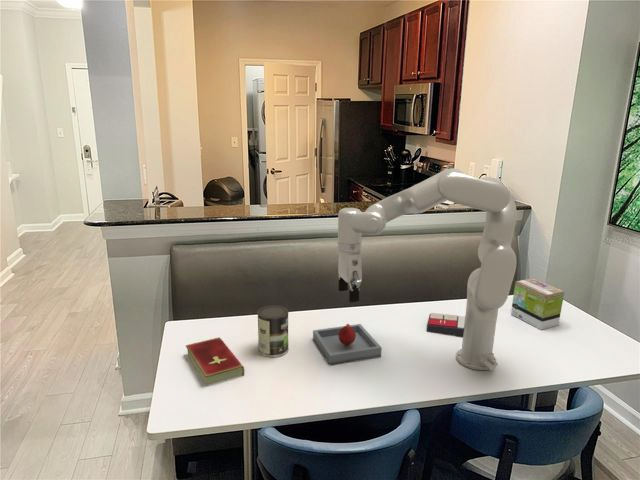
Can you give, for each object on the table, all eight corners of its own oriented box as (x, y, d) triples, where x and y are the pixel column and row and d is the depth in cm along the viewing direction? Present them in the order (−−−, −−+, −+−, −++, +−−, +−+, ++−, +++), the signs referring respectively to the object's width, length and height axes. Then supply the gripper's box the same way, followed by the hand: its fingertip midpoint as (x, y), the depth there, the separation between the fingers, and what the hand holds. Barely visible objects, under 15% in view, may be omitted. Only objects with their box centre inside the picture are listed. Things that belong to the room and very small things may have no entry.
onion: (348, 351, 155) (349, 329, 153) (334, 346, 159) (335, 324, 157) (358, 344, 160) (359, 323, 158) (344, 339, 163) (345, 318, 161)
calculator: (429, 311, 182) (470, 315, 177) (429, 321, 183) (469, 325, 178) (426, 323, 171) (469, 327, 167) (426, 334, 173) (469, 338, 168)
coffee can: (292, 344, 162) (292, 306, 158) (283, 359, 152) (283, 319, 148) (263, 340, 164) (262, 303, 160) (253, 355, 154) (252, 316, 150)
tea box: (509, 314, 188) (514, 280, 183) (527, 310, 192) (532, 277, 188) (540, 330, 174) (546, 294, 170) (559, 326, 179) (565, 290, 174)
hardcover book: (221, 347, 160) (220, 336, 159) (244, 376, 143) (244, 364, 141) (186, 355, 154) (185, 344, 153) (206, 388, 137) (205, 375, 136)
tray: (381, 356, 154) (381, 347, 153) (329, 365, 149) (330, 355, 148) (359, 332, 171) (360, 323, 170) (312, 339, 165) (313, 330, 164)
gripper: (371, 253, 143) (369, 304, 148) (350, 238, 159) (349, 285, 163) (348, 255, 141) (347, 307, 145) (329, 240, 156) (329, 287, 161)
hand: (348, 295), depth 154 cm, fingers open, 9 cm apart
